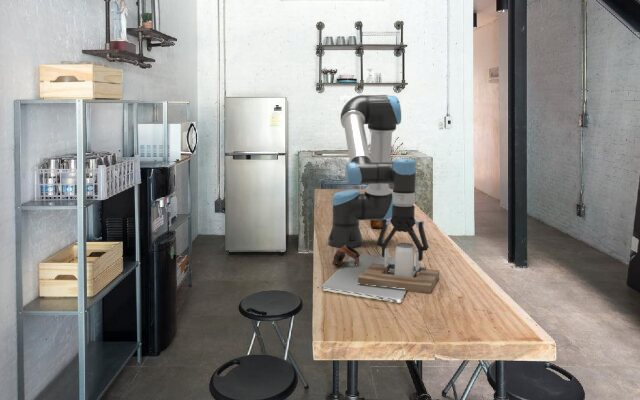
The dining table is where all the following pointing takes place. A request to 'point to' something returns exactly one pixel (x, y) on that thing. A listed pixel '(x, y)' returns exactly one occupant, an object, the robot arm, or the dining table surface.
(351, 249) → the pottery mug
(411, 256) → the can
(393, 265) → the cross rail
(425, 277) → the wooden frame board
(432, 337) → the dining table surface
